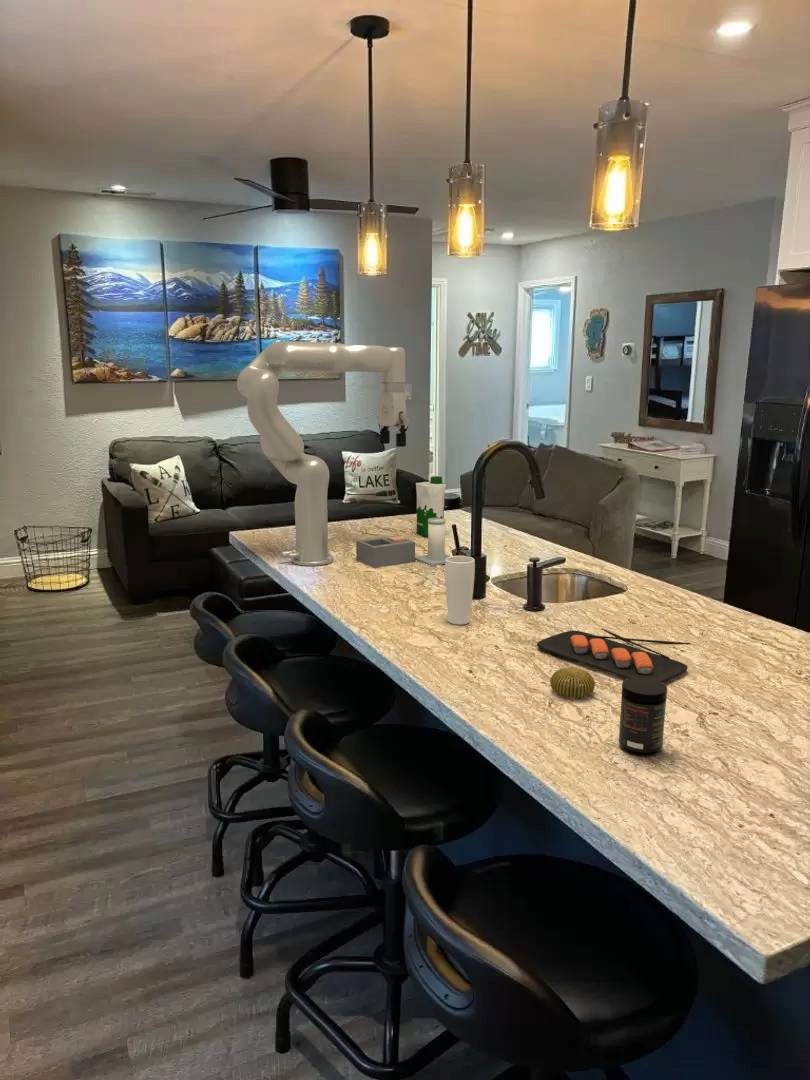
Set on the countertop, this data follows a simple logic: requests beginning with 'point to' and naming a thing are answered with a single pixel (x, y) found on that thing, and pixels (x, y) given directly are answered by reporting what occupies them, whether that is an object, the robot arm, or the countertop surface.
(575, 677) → the sculpture
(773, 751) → the countertop surface
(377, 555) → the box
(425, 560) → the mat
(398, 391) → the robot arm
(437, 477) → the milk carton
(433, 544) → the cartridge
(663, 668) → the sushi plate
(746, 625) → the countertop surface
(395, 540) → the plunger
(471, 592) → the drinking glass
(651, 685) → the supplement container
